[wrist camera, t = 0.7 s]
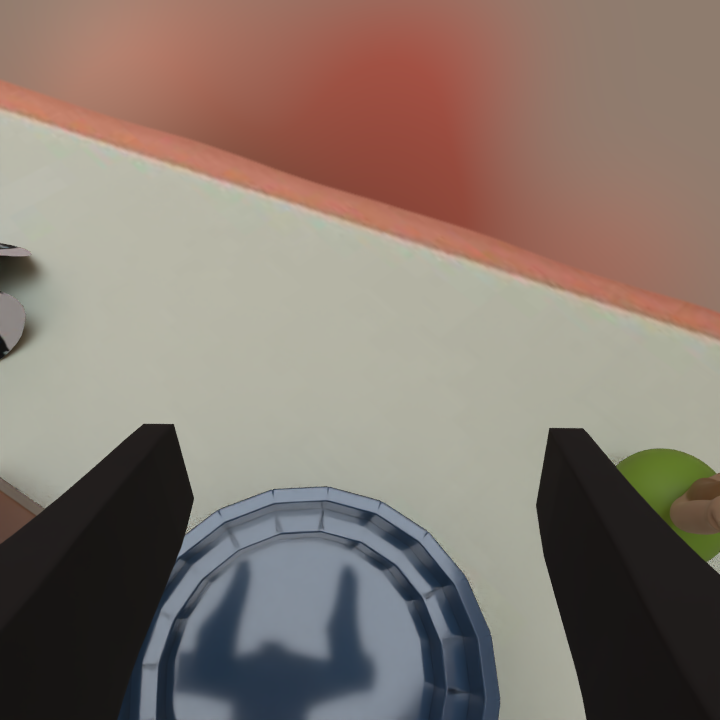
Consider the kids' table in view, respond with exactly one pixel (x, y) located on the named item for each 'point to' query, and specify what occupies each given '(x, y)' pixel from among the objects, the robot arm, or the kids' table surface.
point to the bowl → (314, 619)
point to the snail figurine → (679, 494)
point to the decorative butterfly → (10, 309)
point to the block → (15, 510)
